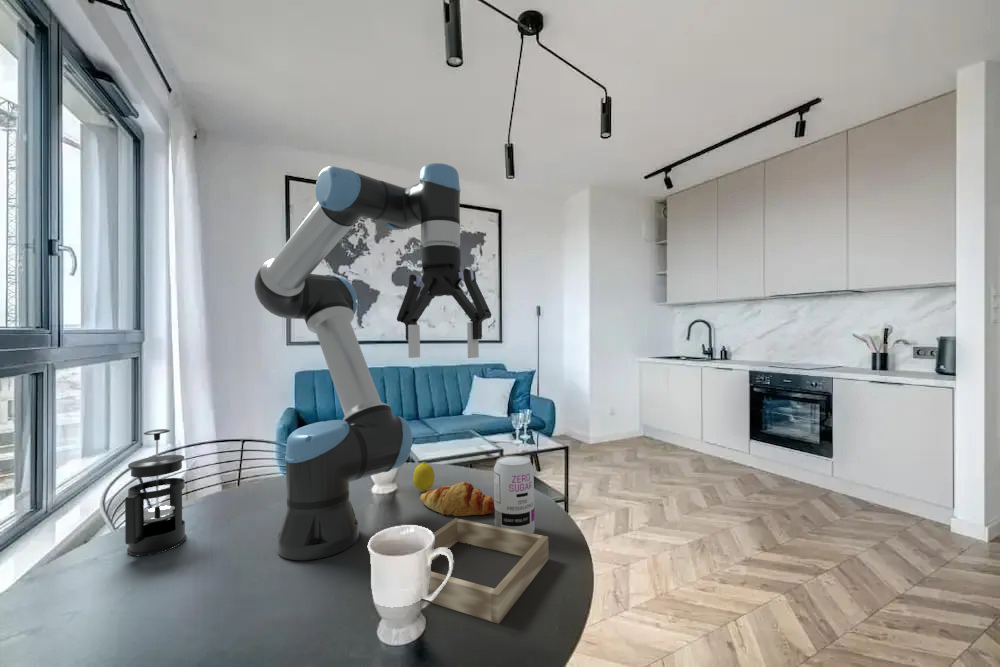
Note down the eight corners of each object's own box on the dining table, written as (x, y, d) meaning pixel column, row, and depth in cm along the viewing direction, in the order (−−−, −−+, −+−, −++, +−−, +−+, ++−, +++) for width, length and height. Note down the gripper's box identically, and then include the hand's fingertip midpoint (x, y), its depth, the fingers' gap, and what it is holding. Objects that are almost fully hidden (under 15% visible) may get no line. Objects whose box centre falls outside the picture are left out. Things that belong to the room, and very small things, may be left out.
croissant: (414, 523, 104) (405, 499, 101) (432, 491, 113) (424, 467, 109) (497, 533, 97) (489, 508, 93) (509, 498, 105) (503, 473, 102)
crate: (388, 589, 70) (388, 564, 70) (455, 537, 88) (455, 518, 88) (498, 623, 61) (498, 595, 61) (548, 558, 79) (548, 536, 79)
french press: (156, 533, 93) (156, 425, 93) (199, 532, 93) (198, 424, 93) (105, 561, 81) (104, 437, 81) (154, 560, 81) (153, 436, 81)
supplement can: (511, 521, 96) (509, 453, 96) (542, 531, 90) (541, 459, 91) (486, 534, 89) (485, 461, 89) (519, 546, 84) (517, 468, 84)
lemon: (430, 496, 112) (429, 465, 112) (410, 495, 113) (409, 464, 113) (437, 489, 117) (437, 459, 117) (418, 488, 118) (417, 458, 118)
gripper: (507, 243, 82) (509, 356, 81) (402, 257, 93) (404, 356, 93) (488, 235, 75) (490, 358, 75) (377, 251, 86) (379, 358, 86)
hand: (442, 357), depth 84 cm, fingers open, 13 cm apart
